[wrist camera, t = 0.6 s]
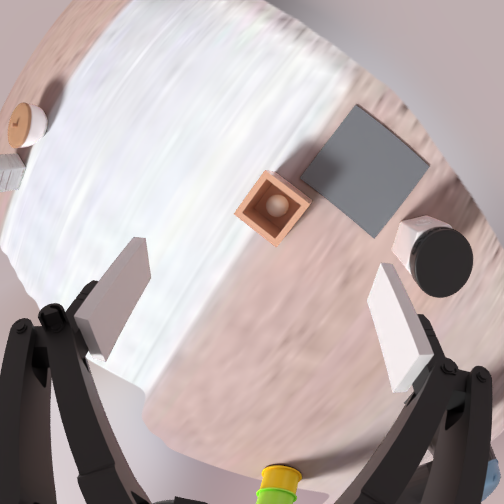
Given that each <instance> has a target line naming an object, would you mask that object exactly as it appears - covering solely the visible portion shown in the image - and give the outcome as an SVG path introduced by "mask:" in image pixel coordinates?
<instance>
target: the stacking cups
mask: <svg viewBox="0 0 504 504" xmlns="http://www.w3.org/2000/svg"><path fill="white" fill-rule="evenodd" d="M262 476H263V480H262V483H261V487H260V489H259V490H258V491H257V493H256V494H257V496H258V499H257V503H256V504H293V502H295V501H296V499H297V496H296V490H297V485H298V482H299V481H300V480H301V479H302V475H301V473H300V472H299V471H297V470H296V469H294V468H291V467H287V466H280V465H275V466H269V467H266V468H265V469H263V471H262Z"/></svg>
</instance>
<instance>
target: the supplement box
mask: <svg viewBox="0 0 504 504" xmlns="http://www.w3.org/2000/svg"><path fill="white" fill-rule="evenodd" d="M25 169H26V167H25V165H24V164H23V162H22V160H21V159H20V157H19V155H18V154H1V155H0V192H4V191H11V190H17V189H19V187H20V184H21V181H22V178H23V175H24V172H25Z"/></svg>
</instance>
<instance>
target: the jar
mask: <svg viewBox="0 0 504 504" xmlns="http://www.w3.org/2000/svg"><path fill="white" fill-rule="evenodd" d="M391 250H392V252H393V253H394V254H395V255H396V257H397V258H398V259H399V260H400V262H401V263H402V264H403V265H404V267H405V268H406V269H407V270H408V272H409V273H410V274H411V275H412V277H413V279H414V280H415V282H416V283H417V284H418V285H419V287H420V288H421V289H422V290H423V291H424V292H425V293H426V294H428V295H430V296H433V297H437V298H443V297H448V296H450V295H453V294H454V293H456V292H457V291H459V290H460V289H461V288H462V287H463V286H464V285H465V283H466V282H467V280H468V278H469V276H470V274H471V271H472V266H473V253H472V249H471V246H470V244H469V242H468V241H467V239H466V238H465V237H464V236H463V235H462V234H460V233H459V232H458V231H456V230H454V229H453V228H452V227H451V226H450V224H447V223H445V222H443V221H440V220H438V219H435V218H433V217H430V216H427V215H426V216H421V217H417V218H413V219H409V220H404V221H401V222H400V224H399V228H398V231H397V234H396V237H395V240H394V243H393V246H392V249H391Z"/></svg>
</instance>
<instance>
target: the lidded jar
mask: <svg viewBox="0 0 504 504" xmlns="http://www.w3.org/2000/svg"><path fill="white" fill-rule="evenodd" d="M47 126H48V119H47V116H46V115H45V113H44V111H43V110H42V109H41V108H40V107H38V106H36V105H33V104H27V103H20V104H19V105H18V106H17V107H16V108H15V110H14V111H13V113H12V116H11V118H10V122H9V126H8V140H9V144H10V145H11V147H13V148H21V147H28V146H31V145H33V144H35V143H37V142H38V141H39V140H40V139H41V138H42V137H43V136H44V134H45V133H46V130H47Z"/></svg>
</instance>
